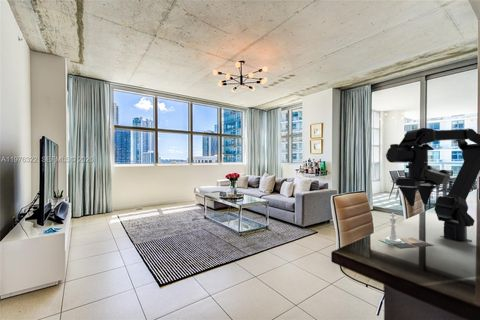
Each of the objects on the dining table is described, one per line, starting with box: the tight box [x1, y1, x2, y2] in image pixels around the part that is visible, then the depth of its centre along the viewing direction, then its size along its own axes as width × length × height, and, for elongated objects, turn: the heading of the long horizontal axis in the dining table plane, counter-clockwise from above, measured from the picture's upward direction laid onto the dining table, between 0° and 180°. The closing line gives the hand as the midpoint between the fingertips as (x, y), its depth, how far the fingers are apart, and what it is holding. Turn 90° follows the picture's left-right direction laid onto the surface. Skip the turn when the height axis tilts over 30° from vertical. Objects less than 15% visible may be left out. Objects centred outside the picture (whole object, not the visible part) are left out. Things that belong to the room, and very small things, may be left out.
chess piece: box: [384, 212, 402, 244], centre depth 79 cm, size 5×5×10 cm
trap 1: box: [392, 244, 417, 249], centre depth 74 cm, size 6×3×1 cm, turn 102°
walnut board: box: [378, 237, 437, 250], centre depth 78 cm, size 15×8×1 cm, turn 102°
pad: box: [379, 238, 407, 246], centre depth 79 cm, size 7×5×1 cm
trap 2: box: [411, 241, 434, 248], centre depth 76 cm, size 6×3×1 cm, turn 102°
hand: (418, 205), depth 82 cm, fingers open, 9 cm apart
